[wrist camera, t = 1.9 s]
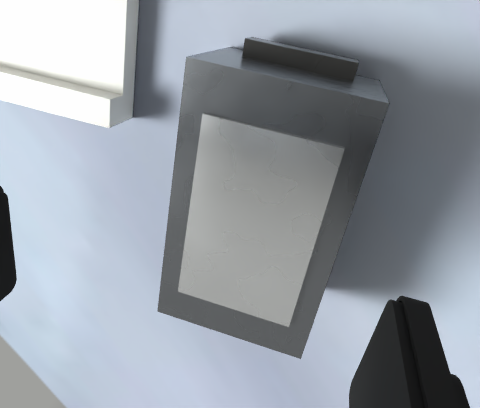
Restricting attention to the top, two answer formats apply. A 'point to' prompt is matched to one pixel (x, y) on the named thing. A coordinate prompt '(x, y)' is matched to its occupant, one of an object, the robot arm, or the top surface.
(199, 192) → the block
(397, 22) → the top surface
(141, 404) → the top surface
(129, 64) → the tray
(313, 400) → the top surface
